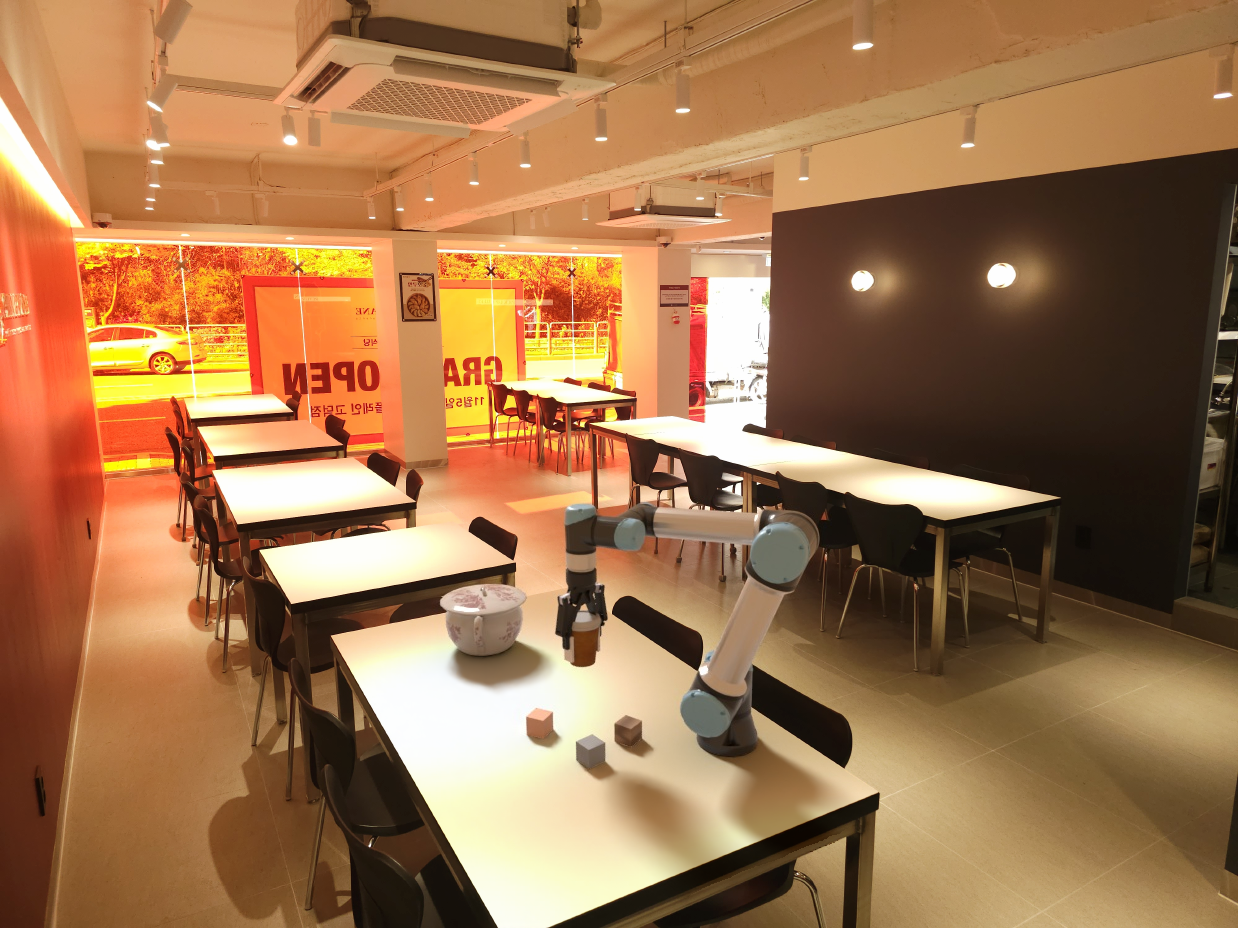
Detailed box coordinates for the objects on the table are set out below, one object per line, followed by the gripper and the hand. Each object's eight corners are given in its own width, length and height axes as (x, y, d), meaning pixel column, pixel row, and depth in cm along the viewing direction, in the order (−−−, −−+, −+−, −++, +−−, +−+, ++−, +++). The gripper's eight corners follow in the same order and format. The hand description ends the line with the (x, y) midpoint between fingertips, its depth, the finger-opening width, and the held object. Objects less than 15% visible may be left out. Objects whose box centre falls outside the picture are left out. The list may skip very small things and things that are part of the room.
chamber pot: (486, 624, 269) (483, 567, 265) (545, 642, 253) (544, 582, 250) (422, 652, 247) (419, 590, 243) (483, 674, 231) (481, 608, 227)
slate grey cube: (605, 761, 186) (605, 742, 185) (589, 769, 182) (588, 749, 181) (592, 752, 189) (592, 733, 188) (576, 760, 186) (575, 741, 185)
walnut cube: (642, 738, 195) (642, 720, 195) (630, 747, 191) (630, 728, 191) (625, 732, 198) (625, 714, 197) (614, 741, 194) (614, 723, 193)
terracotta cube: (553, 729, 200) (552, 711, 199) (543, 738, 196) (543, 720, 195) (536, 725, 202) (536, 707, 201) (526, 734, 198) (526, 716, 197)
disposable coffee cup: (596, 671, 187) (596, 624, 185) (558, 668, 189) (558, 622, 187) (605, 655, 196) (605, 610, 194) (569, 652, 198) (568, 607, 196)
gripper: (601, 554, 198) (602, 638, 202) (537, 574, 183) (540, 663, 187) (622, 561, 193) (622, 646, 197) (558, 581, 178) (560, 673, 182)
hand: (582, 655), depth 192 cm, fingers closed on disposable coffee cup, 8 cm apart
